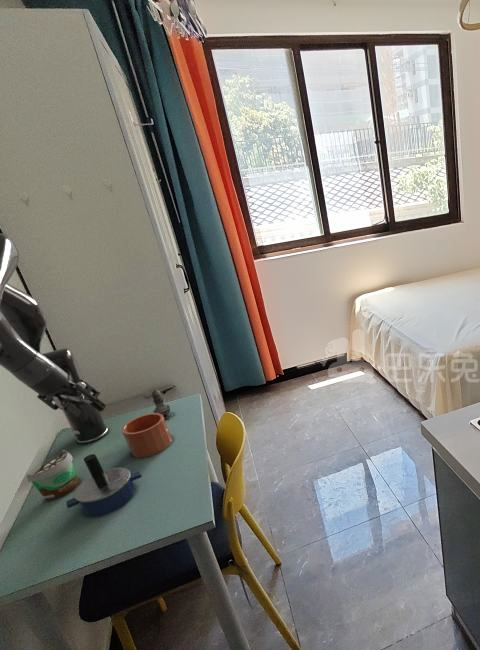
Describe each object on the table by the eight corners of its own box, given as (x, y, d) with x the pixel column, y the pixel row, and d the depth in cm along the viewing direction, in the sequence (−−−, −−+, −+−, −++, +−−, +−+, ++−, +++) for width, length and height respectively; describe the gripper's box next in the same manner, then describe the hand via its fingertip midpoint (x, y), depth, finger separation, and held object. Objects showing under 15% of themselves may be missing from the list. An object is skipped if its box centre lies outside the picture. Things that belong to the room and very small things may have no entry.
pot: (130, 445, 149) (119, 423, 146) (168, 430, 155) (159, 409, 152) (134, 462, 140) (124, 438, 136) (175, 445, 146) (166, 422, 142)
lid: (75, 486, 125) (59, 457, 120) (128, 464, 131) (115, 436, 127) (76, 512, 114) (59, 481, 110) (134, 487, 121) (120, 457, 117)
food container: (58, 504, 125) (42, 477, 121) (41, 503, 126) (24, 476, 122) (93, 475, 136) (79, 449, 132) (77, 475, 137) (63, 448, 133)
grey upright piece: (153, 421, 163) (141, 393, 158) (163, 412, 168) (152, 385, 163) (167, 421, 162) (155, 392, 157) (176, 412, 167) (166, 384, 162)
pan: (72, 503, 125) (65, 489, 123) (142, 473, 134) (136, 460, 132) (73, 528, 115) (65, 514, 113) (148, 495, 124) (142, 481, 122)
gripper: (70, 356, 110) (118, 396, 121) (26, 367, 113) (77, 405, 124) (52, 379, 105) (105, 418, 116) (8, 390, 108) (63, 427, 119)
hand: (90, 411), depth 120 cm, fingers open, 8 cm apart
